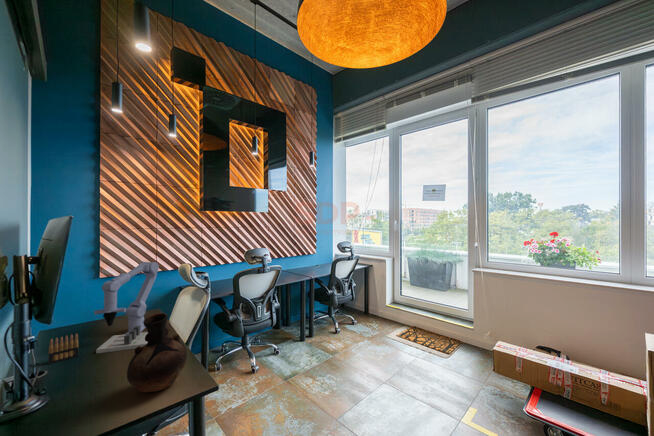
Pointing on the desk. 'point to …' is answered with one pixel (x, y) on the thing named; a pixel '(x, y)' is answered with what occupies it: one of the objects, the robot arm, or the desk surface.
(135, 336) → the block
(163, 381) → the ceramic vessel
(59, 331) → the desk surface
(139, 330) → the block
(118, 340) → the breaker panel
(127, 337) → the block
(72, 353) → the ammunition clip
